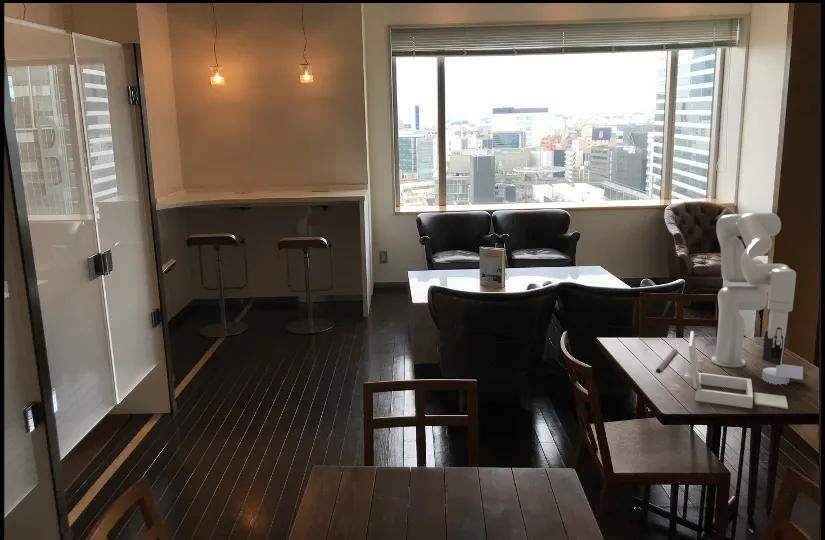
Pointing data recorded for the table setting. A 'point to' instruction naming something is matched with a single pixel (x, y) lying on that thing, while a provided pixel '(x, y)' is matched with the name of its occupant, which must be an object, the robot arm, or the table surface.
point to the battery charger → (767, 349)
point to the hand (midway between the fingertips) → (774, 354)
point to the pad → (770, 400)
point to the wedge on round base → (782, 374)
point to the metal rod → (667, 360)
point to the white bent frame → (718, 384)
